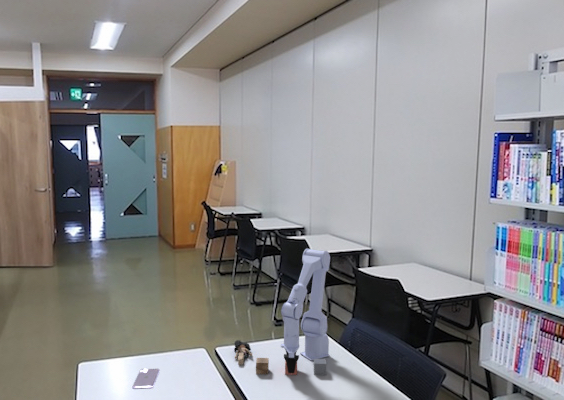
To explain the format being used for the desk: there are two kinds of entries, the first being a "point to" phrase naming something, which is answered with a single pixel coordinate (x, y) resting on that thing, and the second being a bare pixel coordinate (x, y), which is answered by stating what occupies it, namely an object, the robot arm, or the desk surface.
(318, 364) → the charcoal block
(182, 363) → the desk surface
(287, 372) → the red block
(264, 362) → the walnut block
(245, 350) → the toy figure
